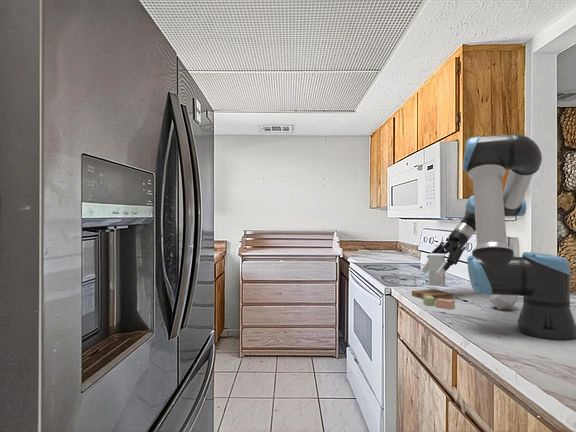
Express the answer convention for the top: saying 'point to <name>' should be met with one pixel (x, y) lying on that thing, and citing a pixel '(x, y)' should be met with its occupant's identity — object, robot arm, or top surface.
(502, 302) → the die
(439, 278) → the small box
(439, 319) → the top surface
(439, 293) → the walnut slab
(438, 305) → the terracotta brick
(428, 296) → the olive brick
